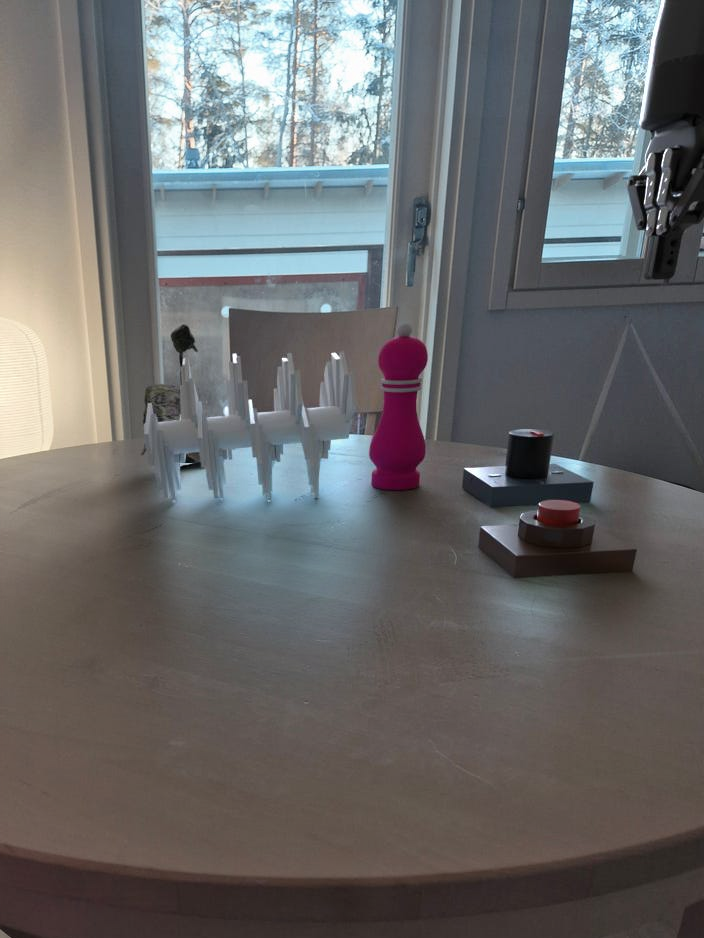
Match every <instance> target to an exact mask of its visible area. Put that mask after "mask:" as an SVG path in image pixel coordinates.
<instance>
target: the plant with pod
mask: <svg viewBox="0 0 704 938" xmlns="http://www.w3.org/2000/svg"><path fill="white" fill-rule="evenodd" d="M170 340H171V342H172V343H173V347H174V350H175V351H176V352H177V353H179V354H178V355H179V357H178V360H179V378H180V379H179V381H180V386H181V385H182V382H181V369H180V367H181V366H182V364H183V359H184V356H183V355H184V353H185V352H187V351H189V350H193V351H194V352H195V353H197V352H198V351H199V350H198V348H197V346H196V345H195V343H196V339H195V337H194V335H193V333H192V331H191V329H190V327H189V326H188V325H187V324H185V323H184V324H181V325H180V326H178V327H177V328H175V329H174V330H173V331H172V332H171V333H170ZM180 386H175V385H170V384H164V383H153V384H149V385H148V386H147V387H146V388H145V393H144V405H145V406H144V407H145V408H144V411H143V420H142V425H143V426H144V424H145V423H146V414H147V406H148V403H152V407H153V414H155V413H156V416H157V420H158V422H164V421H175V420H179V419H180V414H181V402H180ZM146 452H147V451H146V446H145V444H144V445H143V448H142V450H141V452H140V456H143V455H145V453H146ZM185 463H194V464H196V463H201V459H200V452H192V453H189V454H186V458H185Z"/></svg>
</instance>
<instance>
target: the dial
mask: <svg viewBox="0 0 704 938" xmlns="http://www.w3.org/2000/svg"><path fill="white" fill-rule="evenodd" d="M554 438H555V433H554V432H553V431H551V430H547V429H534V428H523V429H520V428H519V429H514V430H510V431H509V434H508V441H507V448H506V449H507V450H506V458H505V465H504V466H505V472H504V474H505V475H507V476H509V477H513V478H520V479H539V478H544V477H547V476H548V471H549V464H551V463H550V462H551V457H552V451H553V445H554Z"/></svg>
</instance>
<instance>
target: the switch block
mask: <svg viewBox="0 0 704 938" xmlns="http://www.w3.org/2000/svg"><path fill="white" fill-rule="evenodd" d="M537 513H538V509H532V510H529V511H525V512H522V513H521V515H520V517H519V519H518V524H502V525H483V526H482V525H481V526H480V527H479V535H478V544H477V547H478V548H479V549H480V551H482V552H483V553H484V554H485V555H486V556H488V557H489V558H490V559H491V560H492V561H493V562H494V563H496V565H498V566H499V567H500V568H501V569H502V570H504V571H505V572H506V573H507V574H508V575H509V576H510V577H512V578H513V579H526V578H542V577H562V576H581V575H597V574H598V575H600V574H614V573H616V574H618V573H632V572H633V570H634V565H635V561H636V556H637V552H638V551H637V550H638V549H637V548H635V547H634V546H632V545H630V544H628V543H627V542H625V541H624V540H622V539H620V538H618V537H616V536H615V535H613V534H611V533H610V532H608V531H606V530H604V529H602V528H601V527H599V526H597V525H596V522H597V519H595V518H593V517H592V516H590V515H588V514H586V513H582V512H580V514H579V520H578V524H576V525H563V526H561V525H550V524H545V523H542V522H538V521H536V520H537Z"/></svg>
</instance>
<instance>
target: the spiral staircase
mask: <svg viewBox="0 0 704 938" xmlns="http://www.w3.org/2000/svg"><path fill="white" fill-rule="evenodd" d="M330 353H331V355H330V356H331V359H330V360H331V361H326V364H325V367H324V372H323V380H324V381H320V385H319V386H320V387H319V405H318V406H319V407H318V406H317V407H305V404H304V400H303V392H302V381H301V370H300V369H295V366H294V361H293V355H292V352H287V355H286V356H287V357H281V366H277V375H276V385H277V386H276V387H277V388H273V408H274V409H273V411H263V412H258V408H254V407H253V400H252V399H250V398H249V388H248V380H243V372H242V361H241V355H237V353H232V361H229V362H228V367H229V368H228V369H229V370H228V371H229V378H226V379H225V382H226V394H227V395H226V396H227V406H225V407H224V415H221V416H220V415H218V416H209V417H208V416H207V415H208V414H207V413H206V412H204V411H203V403H202V402H203V401H202V400H199V395H198V392H197V388H196V384H195V379H194V378H193V377H192V372H191V364H190V357H189V356H185V357H183V364H182V366H181V367H180V366H179V370H180V369H181V381H180V383H181V382H182V385H181V384H180V385H179V388H180V402H181V414H180V419H179V420H175V421H164V422H158V420H157V416H156V413H155V414H153V407H152V403H148V406H147V414H146V423H145V424H144V425H143V433H144V434H143V436H144V445H145V446H146V451H145V452H146V455H147V459H148V465H149V467H153V474H154V478H155V481H156V484H157V488H158V491H163V499H170V498H171V501H172V500H176V497H177V498H178V491H182V483H181V467H180V463H185V458H186V454H189V453H192V452H200V459H201V462H200V467H201V469H205V474H206V475H205V476H206V481H207V486H208V491H212V490H213V491H212V492H213V498H214V499H218V498H219V499H220V498H223V499H224V485H227V480H226V477H227V476H226V467H225V460H229V461H230V460H231V461H232V460H233V451H234V450H236V449H247V448H251V454H252V458H256V459H255V460H256V470H257V481H258V482H257V483H258V485H261V488H262V490H261V491H262V496H264V497H265V496H266V499H267V500H271V501H272V492H273V468H275V464H276V463H280V462H281V455H284V445H292V444H301V446H302V451H303V455H304V456H303V457H304V459H305V462H306V470H307V479H308V485H309V486H310V487H309V488H310V494H313V497H314V499H315V498H319V499H320V497H319V496H320V469H321V460H323V459H324V460H327V459H329V451H331V446H332V445H331V444H332V441H337V440H348V439H349V438H350V428H351V427H350V424H351V421H352V419H353V418H354V415H355V413H356V410H357V407H358V401H357V389H356V376H355V375H356V374H355V370H352V371H349V370H348V365H347V361H346V355H345V351H344V350H340V351H339V356H338V354H337V352H330ZM271 491H272V492H271ZM267 500H266V501H267Z"/></svg>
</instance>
